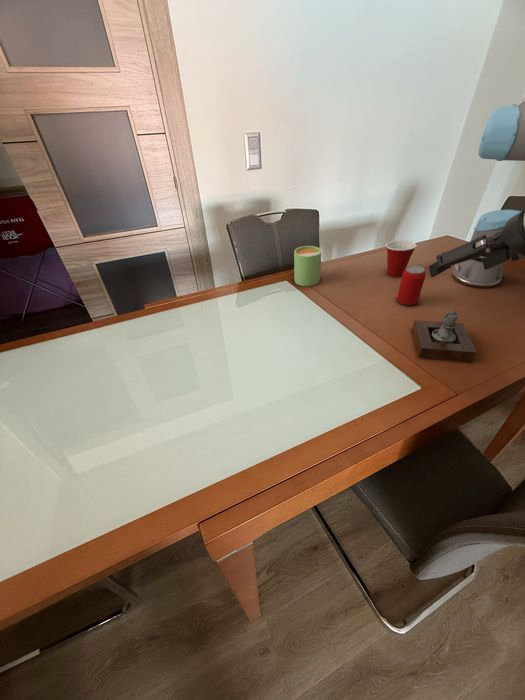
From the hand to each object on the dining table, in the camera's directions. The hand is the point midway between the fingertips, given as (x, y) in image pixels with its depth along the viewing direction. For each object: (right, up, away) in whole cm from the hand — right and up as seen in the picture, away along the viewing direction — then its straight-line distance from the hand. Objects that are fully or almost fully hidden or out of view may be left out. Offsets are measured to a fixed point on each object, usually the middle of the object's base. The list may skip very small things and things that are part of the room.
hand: (457, 268), depth 73 cm
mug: (-30, +9, +49) cm, 58 cm away
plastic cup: (+5, +10, +47) cm, 48 cm away
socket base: (+3, -19, +13) cm, 23 cm away
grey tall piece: (+3, -19, +13) cm, 23 cm away
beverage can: (+2, -3, +31) cm, 31 cm away
